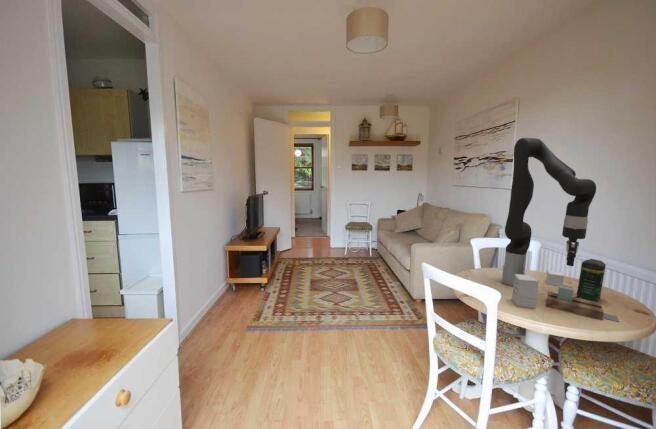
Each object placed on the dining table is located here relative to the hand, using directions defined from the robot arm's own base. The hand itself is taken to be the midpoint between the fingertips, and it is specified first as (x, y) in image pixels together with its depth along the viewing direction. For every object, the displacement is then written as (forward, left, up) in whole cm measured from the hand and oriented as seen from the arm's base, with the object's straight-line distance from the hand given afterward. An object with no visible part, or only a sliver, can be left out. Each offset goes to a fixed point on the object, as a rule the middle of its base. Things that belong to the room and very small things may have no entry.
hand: (569, 263), depth 121 cm
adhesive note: (-4, +31, -20) cm, 37 cm away
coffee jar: (+9, +19, -20) cm, 29 cm away
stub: (0, 0, -20) cm, 20 cm away
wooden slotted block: (+3, 0, -20) cm, 20 cm away
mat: (+15, 0, -20) cm, 25 cm away
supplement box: (-14, -9, -20) cm, 26 cm away
